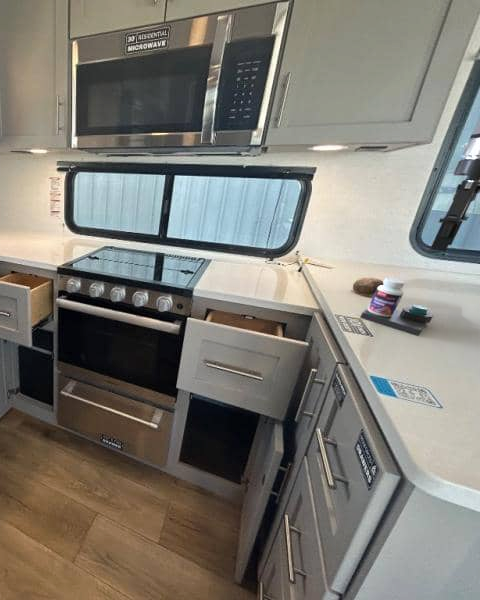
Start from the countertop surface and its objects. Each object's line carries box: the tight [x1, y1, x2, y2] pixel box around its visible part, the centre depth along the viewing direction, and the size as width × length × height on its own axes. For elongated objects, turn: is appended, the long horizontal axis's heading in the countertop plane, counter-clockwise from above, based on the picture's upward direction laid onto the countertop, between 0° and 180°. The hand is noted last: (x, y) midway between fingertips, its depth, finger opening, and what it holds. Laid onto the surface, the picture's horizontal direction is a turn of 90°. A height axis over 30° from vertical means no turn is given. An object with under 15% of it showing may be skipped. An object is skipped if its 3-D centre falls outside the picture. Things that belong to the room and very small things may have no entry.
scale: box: [360, 307, 434, 337], centre depth 90 cm, size 12×12×4 cm
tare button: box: [410, 304, 429, 315], centre depth 89 cm, size 3×3×2 cm
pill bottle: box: [367, 277, 406, 317], centre depth 89 cm, size 5×5×10 cm
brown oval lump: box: [352, 277, 384, 297], centre depth 109 cm, size 8×8×6 cm
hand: (441, 247), depth 86 cm, fingers open, 13 cm apart
